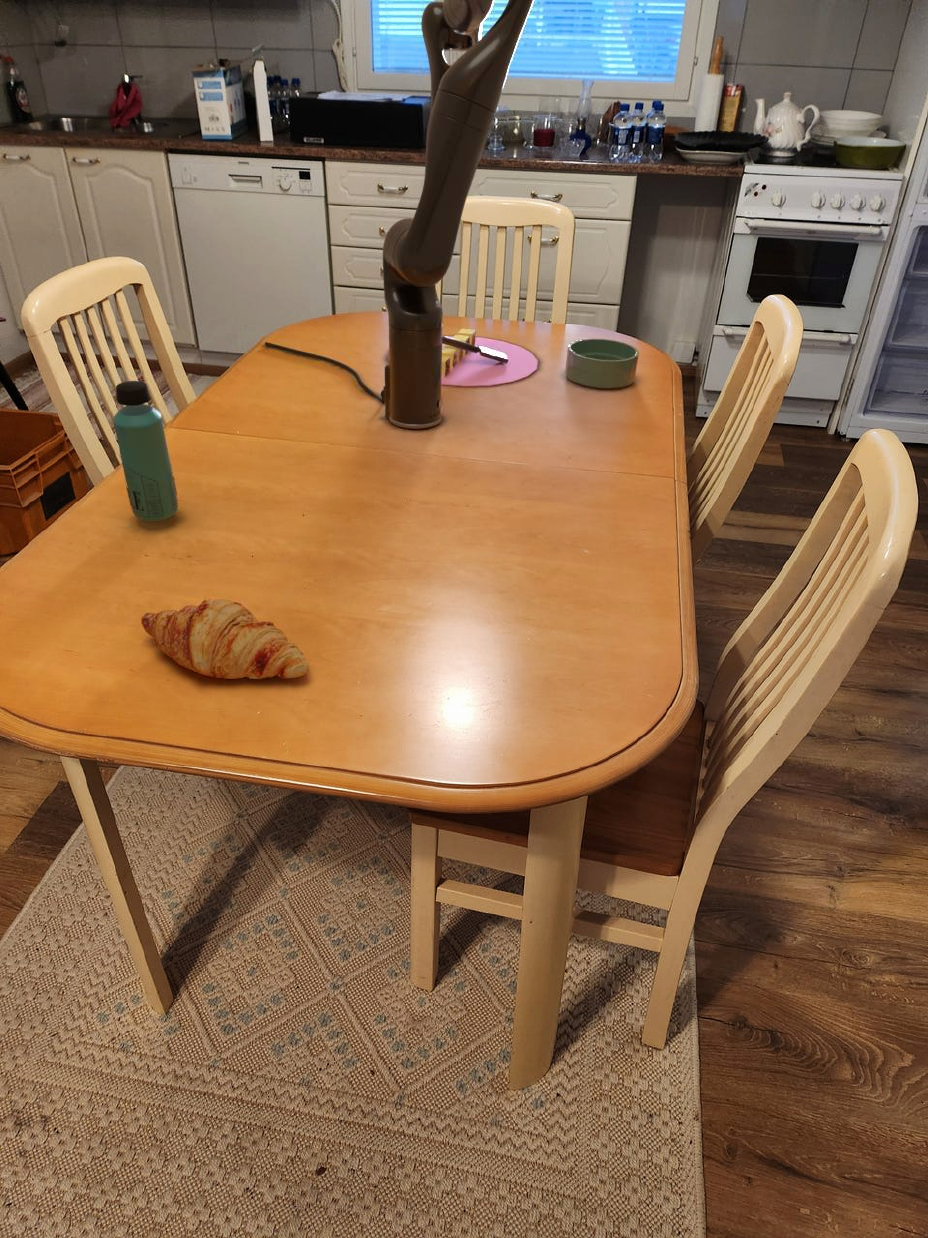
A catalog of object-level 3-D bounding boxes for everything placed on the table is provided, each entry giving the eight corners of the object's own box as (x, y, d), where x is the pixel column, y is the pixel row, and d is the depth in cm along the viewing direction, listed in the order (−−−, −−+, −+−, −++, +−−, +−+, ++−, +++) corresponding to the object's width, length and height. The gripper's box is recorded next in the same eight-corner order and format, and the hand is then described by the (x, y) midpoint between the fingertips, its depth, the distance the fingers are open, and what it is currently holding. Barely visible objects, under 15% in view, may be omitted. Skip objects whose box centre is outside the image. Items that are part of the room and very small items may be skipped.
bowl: (552, 379, 177) (555, 350, 174) (585, 362, 187) (588, 334, 184) (615, 396, 171) (619, 366, 167) (645, 377, 181) (650, 348, 177)
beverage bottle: (190, 514, 125) (168, 379, 114) (162, 535, 120) (137, 396, 109) (151, 506, 127) (126, 372, 115) (123, 526, 122) (93, 388, 110)
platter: (365, 374, 176) (365, 357, 174) (416, 330, 201) (416, 315, 199) (519, 395, 169) (520, 378, 167) (551, 347, 195) (553, 331, 193)
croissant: (322, 688, 100) (334, 621, 98) (282, 705, 90) (295, 630, 89) (163, 644, 104) (173, 580, 103) (108, 655, 95) (119, 584, 94)
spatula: (509, 361, 183) (471, 395, 185) (505, 354, 186) (467, 388, 189) (456, 298, 173) (417, 335, 176) (452, 293, 176) (414, 329, 179)
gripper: (423, 129, 165) (422, 221, 175) (435, 138, 154) (433, 236, 163) (462, 130, 167) (459, 221, 176) (476, 139, 155) (472, 236, 164)
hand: (447, 228), depth 170 cm, fingers open, 8 cm apart
